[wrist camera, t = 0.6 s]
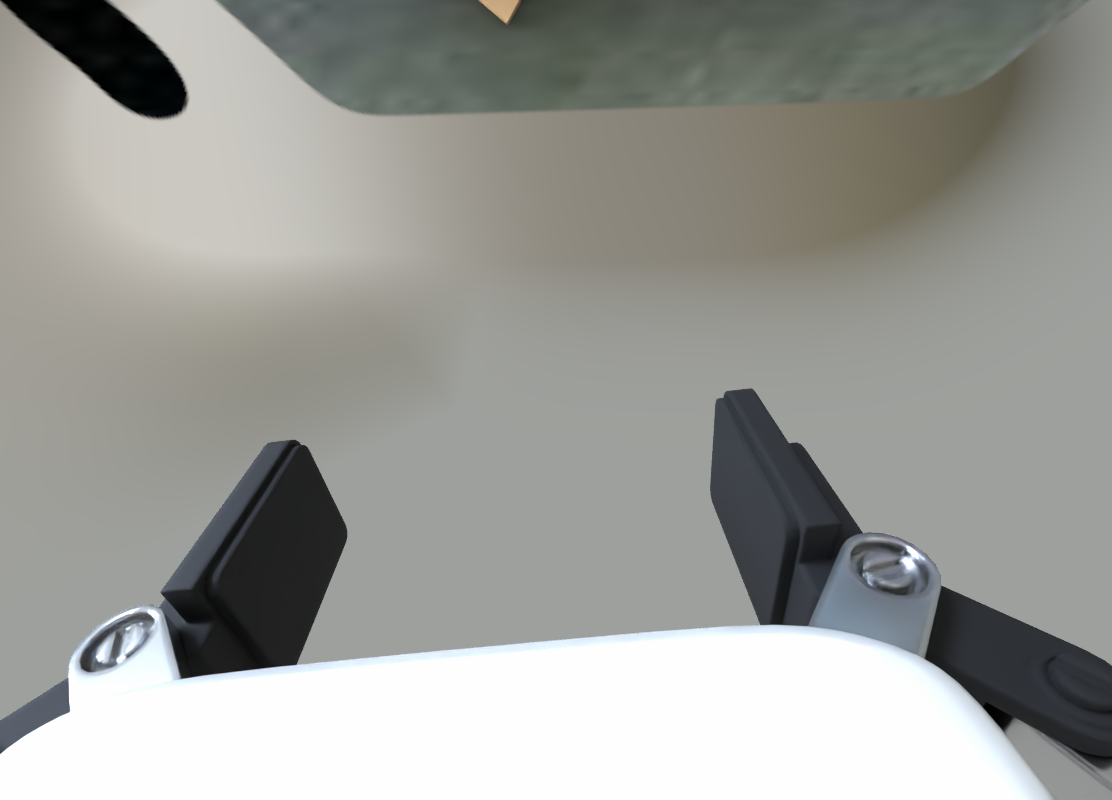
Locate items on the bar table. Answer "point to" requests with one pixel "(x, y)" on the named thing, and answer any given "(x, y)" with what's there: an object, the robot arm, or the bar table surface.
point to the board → (502, 8)
